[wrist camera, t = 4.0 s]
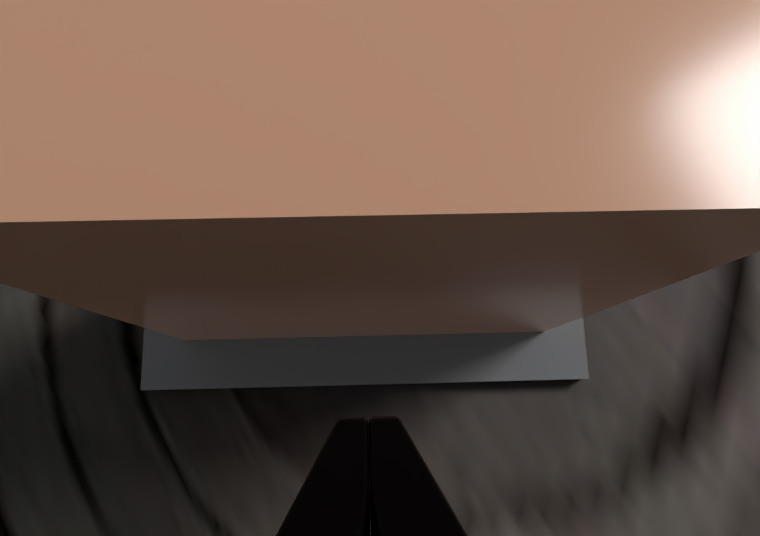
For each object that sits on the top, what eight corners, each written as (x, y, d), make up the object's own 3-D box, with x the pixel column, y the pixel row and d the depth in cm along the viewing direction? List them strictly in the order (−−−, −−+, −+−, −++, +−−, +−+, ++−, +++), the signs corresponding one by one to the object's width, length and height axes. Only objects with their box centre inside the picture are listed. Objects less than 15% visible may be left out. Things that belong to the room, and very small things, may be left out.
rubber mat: (581, 379, 15) (588, 379, 15) (148, 390, 15) (140, 390, 14) (537, -86, 18) (541, -100, 18) (174, -84, 18) (169, -97, 17)
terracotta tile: (544, 331, 15) (879, 205, 5) (183, 340, 15) (-183, 225, 5) (536, 235, 15) (825, -45, 6) (188, 242, 15) (-135, -36, 5)
